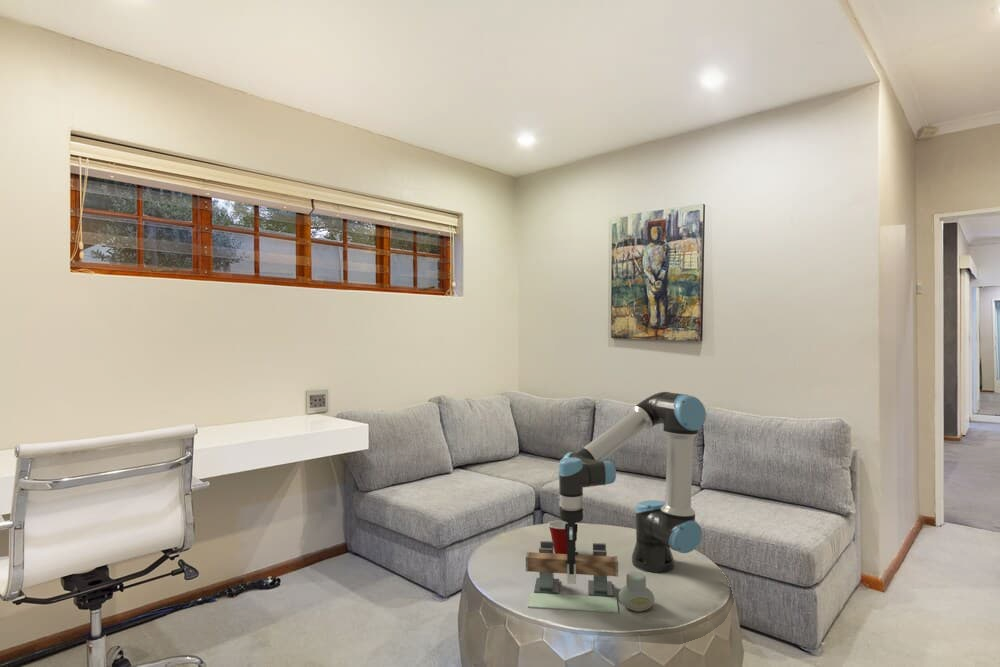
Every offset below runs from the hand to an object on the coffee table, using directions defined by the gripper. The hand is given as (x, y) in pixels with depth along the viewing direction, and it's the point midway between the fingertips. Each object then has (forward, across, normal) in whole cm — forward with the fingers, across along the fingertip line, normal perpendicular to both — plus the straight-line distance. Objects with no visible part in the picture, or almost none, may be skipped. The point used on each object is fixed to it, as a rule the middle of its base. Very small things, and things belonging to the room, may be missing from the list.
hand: (571, 579), depth 176 cm
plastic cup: (+8, -39, -5) cm, 40 cm away
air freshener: (+8, 0, +20) cm, 22 cm away
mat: (+8, 0, 0) cm, 8 cm away
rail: (-3, 0, 0) cm, 3 cm away
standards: (+8, -10, 0) cm, 13 cm away
